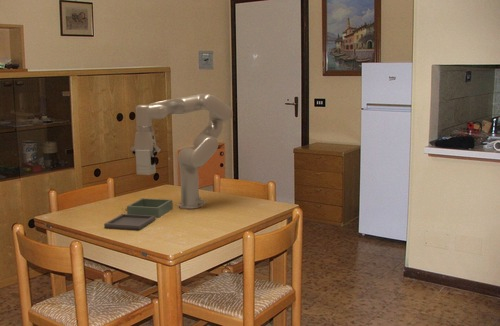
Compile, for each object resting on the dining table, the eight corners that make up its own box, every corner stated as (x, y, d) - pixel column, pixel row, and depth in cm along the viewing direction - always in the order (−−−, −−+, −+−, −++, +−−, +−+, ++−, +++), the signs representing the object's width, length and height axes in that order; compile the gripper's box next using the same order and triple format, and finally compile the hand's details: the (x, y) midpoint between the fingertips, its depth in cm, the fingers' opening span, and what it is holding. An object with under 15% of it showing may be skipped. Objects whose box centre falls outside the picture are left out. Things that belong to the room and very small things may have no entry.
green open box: (172, 209, 304) (172, 199, 303) (158, 217, 287) (158, 208, 286) (142, 207, 308) (142, 198, 307) (127, 215, 292) (126, 206, 291)
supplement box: (156, 172, 294) (155, 148, 292) (148, 175, 287) (147, 150, 285) (143, 171, 297) (142, 147, 294) (136, 174, 290) (134, 149, 288)
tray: (155, 220, 283) (155, 215, 283) (139, 230, 266) (139, 226, 265) (122, 218, 288) (122, 213, 287) (104, 228, 271) (104, 223, 270)
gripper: (163, 129, 289) (164, 163, 292) (132, 128, 294) (133, 162, 297) (156, 130, 282) (158, 166, 285) (125, 130, 287) (126, 164, 290)
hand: (145, 163), depth 291 cm, fingers closed on supplement box, 7 cm apart
